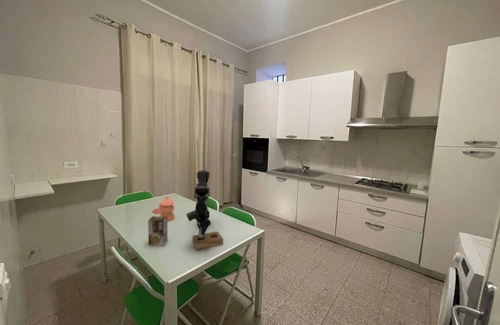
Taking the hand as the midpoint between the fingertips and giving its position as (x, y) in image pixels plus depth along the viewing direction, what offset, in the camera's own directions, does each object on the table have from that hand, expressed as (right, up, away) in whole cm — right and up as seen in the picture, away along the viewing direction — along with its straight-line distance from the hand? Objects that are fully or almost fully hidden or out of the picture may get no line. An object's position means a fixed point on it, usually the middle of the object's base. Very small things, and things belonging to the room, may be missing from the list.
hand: (201, 231), depth 121 cm
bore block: (+3, -8, +3) cm, 9 cm away
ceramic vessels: (-42, -3, +43) cm, 60 cm away
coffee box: (-26, -8, 0) cm, 27 cm away
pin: (0, -7, +1) cm, 8 cm away
